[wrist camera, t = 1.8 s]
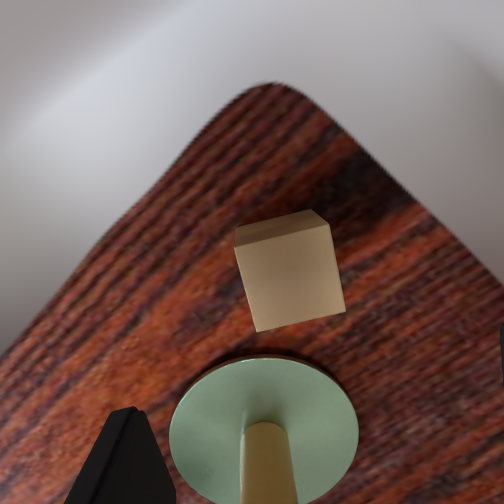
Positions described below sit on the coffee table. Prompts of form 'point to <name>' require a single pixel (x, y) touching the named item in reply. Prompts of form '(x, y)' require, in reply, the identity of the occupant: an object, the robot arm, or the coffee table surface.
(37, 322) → the coffee table surface
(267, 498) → the lid
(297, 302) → the block
